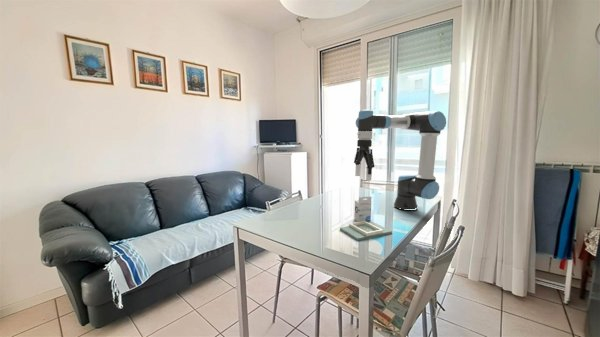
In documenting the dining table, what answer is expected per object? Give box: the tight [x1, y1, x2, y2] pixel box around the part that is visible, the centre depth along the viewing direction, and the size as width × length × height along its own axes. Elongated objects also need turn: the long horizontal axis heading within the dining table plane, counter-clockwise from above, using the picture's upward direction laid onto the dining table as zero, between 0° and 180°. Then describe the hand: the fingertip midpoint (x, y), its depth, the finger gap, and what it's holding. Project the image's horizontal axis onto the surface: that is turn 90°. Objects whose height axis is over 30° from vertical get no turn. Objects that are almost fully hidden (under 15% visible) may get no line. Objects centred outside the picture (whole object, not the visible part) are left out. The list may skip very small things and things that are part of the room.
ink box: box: [354, 196, 372, 222], centre depth 146 cm, size 9×5×15 cm, turn 105°
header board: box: [339, 221, 393, 242], centre depth 129 cm, size 22×15×3 cm
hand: (362, 178), depth 136 cm, fingers open, 13 cm apart
